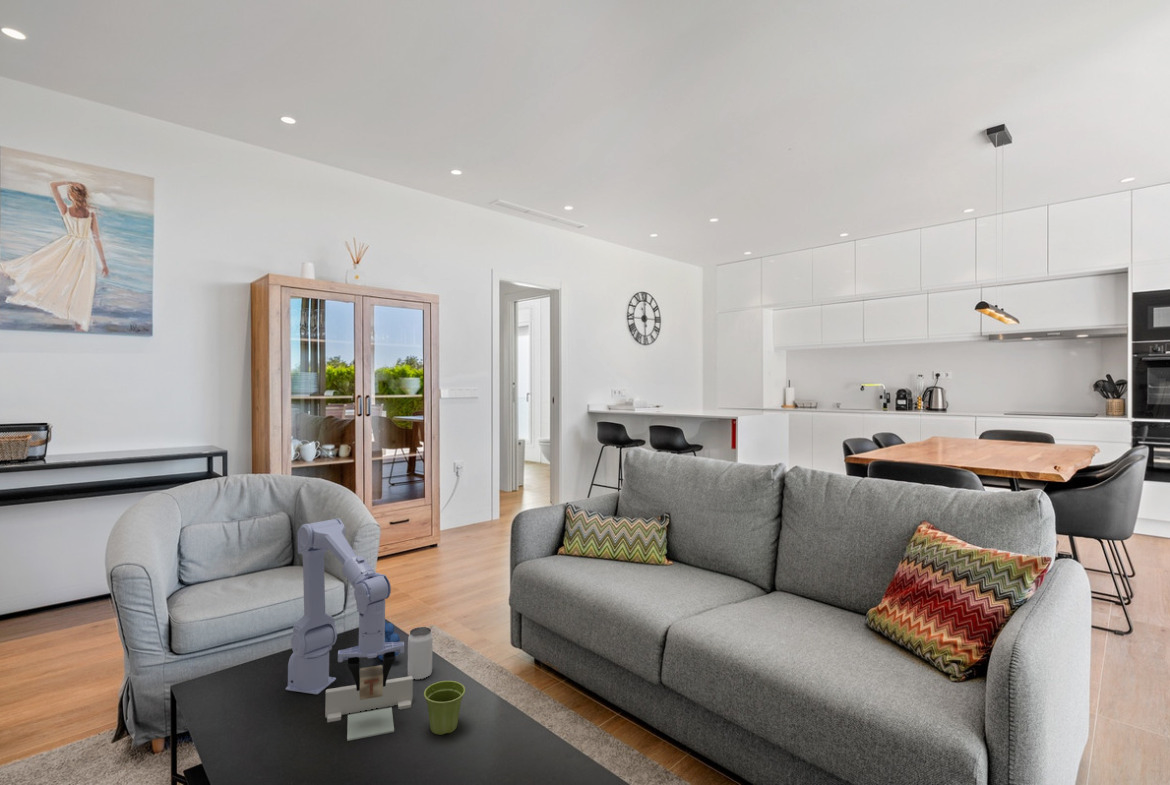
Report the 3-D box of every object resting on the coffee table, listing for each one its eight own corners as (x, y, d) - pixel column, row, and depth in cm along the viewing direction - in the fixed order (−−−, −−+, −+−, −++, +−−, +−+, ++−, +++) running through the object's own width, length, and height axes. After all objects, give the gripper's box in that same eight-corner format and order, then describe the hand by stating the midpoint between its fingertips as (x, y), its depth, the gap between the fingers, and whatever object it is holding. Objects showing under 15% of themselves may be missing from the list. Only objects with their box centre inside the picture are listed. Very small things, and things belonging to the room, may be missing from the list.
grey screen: (324, 722, 137) (325, 697, 137) (326, 709, 143) (326, 684, 143) (413, 707, 144) (413, 683, 144) (411, 694, 150) (411, 671, 150)
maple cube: (359, 700, 134) (359, 678, 134) (359, 689, 139) (359, 668, 138) (382, 696, 136) (383, 675, 135) (381, 685, 140) (382, 665, 140)
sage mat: (347, 740, 131) (347, 739, 131) (347, 716, 140) (347, 714, 140) (394, 732, 134) (394, 730, 134) (391, 708, 144) (391, 707, 144)
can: (435, 669, 163) (436, 627, 163) (426, 681, 157) (427, 637, 157) (413, 667, 164) (413, 625, 164) (403, 679, 158) (404, 635, 157)
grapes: (357, 661, 167) (357, 620, 166) (375, 652, 173) (375, 612, 172) (387, 671, 162) (388, 628, 161) (405, 661, 168) (405, 619, 167)
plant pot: (472, 720, 139) (472, 685, 139) (450, 743, 130) (451, 705, 130) (438, 712, 142) (438, 677, 142) (414, 734, 134) (415, 697, 133)
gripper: (337, 640, 130) (336, 700, 130) (405, 631, 135) (404, 689, 136) (338, 627, 137) (337, 685, 137) (403, 619, 142) (402, 675, 142)
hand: (371, 686), depth 137 cm, fingers closed on maple cube, 5 cm apart
